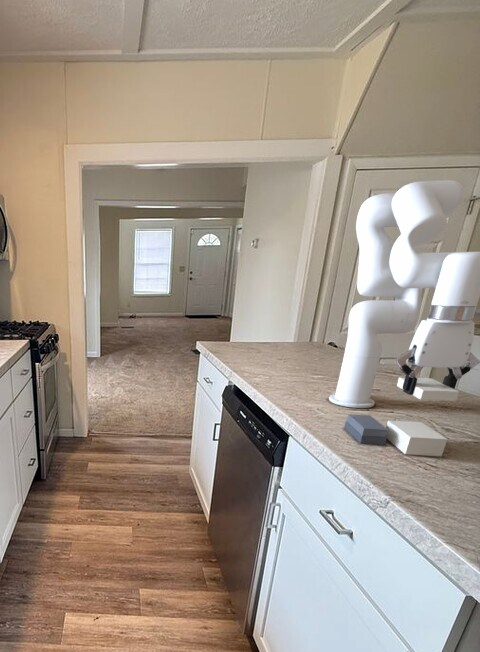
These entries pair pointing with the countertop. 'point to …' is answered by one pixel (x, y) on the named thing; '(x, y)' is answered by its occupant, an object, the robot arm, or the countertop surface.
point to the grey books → (366, 429)
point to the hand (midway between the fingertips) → (426, 393)
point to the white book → (431, 390)
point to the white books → (415, 438)
